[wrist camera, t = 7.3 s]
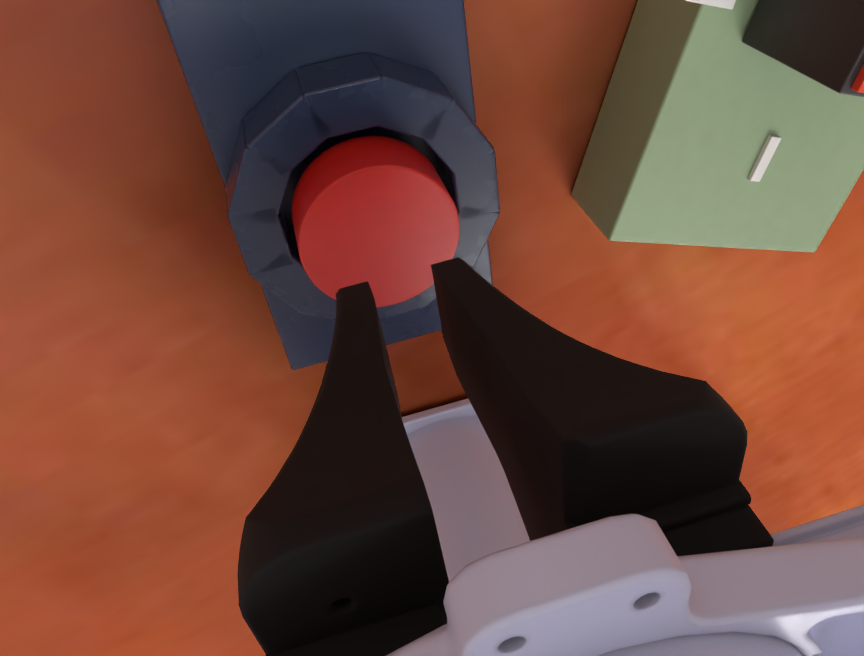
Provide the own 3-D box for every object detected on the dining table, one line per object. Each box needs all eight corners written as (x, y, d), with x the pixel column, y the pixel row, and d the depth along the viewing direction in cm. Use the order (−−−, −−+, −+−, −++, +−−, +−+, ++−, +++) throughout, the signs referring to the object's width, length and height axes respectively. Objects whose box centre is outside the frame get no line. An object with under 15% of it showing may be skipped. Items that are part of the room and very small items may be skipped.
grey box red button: (481, 287, 25) (514, 349, 23) (287, 339, 25) (297, 409, 22) (436, -99, 18) (478, -73, 15) (151, -39, 17) (143, -1, 14)
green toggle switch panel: (775, 211, 27) (832, 256, 24) (553, 194, 24) (593, 243, 21) (1030, -267, 19) (1152, -271, 16) (743, -383, 16) (840, -408, 13)
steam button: (451, 251, 20) (468, 285, 19) (312, 287, 20) (320, 325, 19) (431, 117, 18) (450, 147, 16) (272, 156, 17) (278, 189, 16)
